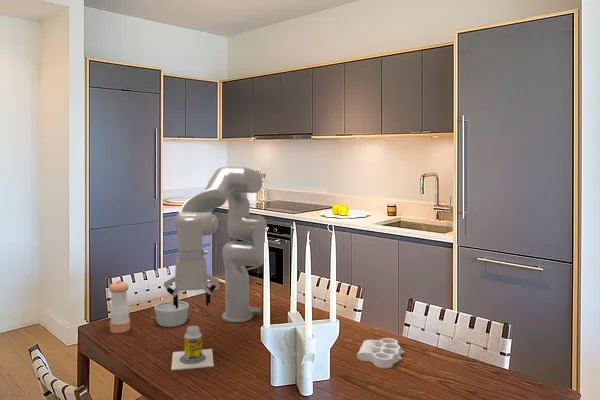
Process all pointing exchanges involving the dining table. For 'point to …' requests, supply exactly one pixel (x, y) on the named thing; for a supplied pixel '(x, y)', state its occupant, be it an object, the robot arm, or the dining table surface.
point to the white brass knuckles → (380, 352)
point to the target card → (182, 363)
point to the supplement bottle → (193, 343)
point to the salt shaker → (119, 307)
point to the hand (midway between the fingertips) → (192, 306)
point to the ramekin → (171, 313)
